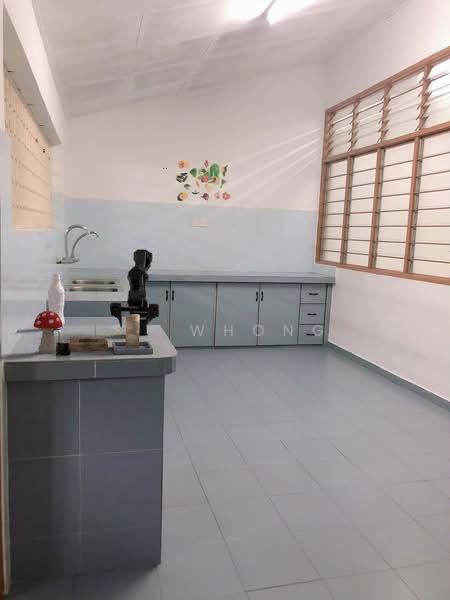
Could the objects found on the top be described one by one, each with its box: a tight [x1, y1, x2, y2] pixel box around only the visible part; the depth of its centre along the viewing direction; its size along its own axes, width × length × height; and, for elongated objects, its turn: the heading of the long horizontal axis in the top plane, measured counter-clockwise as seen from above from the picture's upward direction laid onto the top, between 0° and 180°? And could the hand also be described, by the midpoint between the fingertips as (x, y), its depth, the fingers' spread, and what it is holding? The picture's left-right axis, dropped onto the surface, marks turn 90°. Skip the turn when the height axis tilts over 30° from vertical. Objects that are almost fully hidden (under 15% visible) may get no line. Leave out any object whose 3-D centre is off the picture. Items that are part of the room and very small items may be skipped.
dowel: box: [125, 313, 140, 349], centre depth 188 cm, size 5×5×13 cm
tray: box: [111, 341, 154, 356], centre depth 189 cm, size 14×14×2 cm
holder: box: [68, 336, 109, 352], centre depth 191 cm, size 14×14×2 cm
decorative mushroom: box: [33, 310, 63, 355], centre depth 179 cm, size 10×9×15 cm
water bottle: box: [47, 273, 66, 330], centre depth 225 cm, size 7×7×25 cm
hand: (133, 327), depth 191 cm, fingers open, 9 cm apart
